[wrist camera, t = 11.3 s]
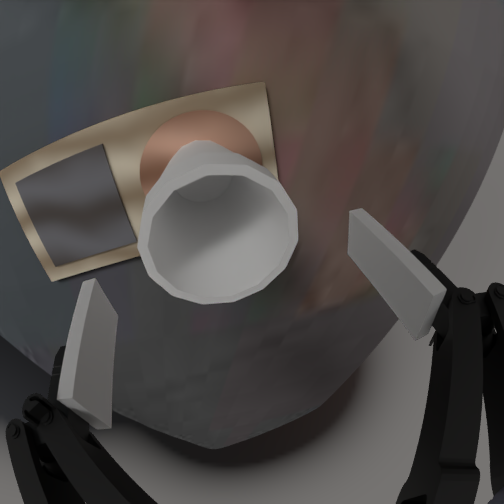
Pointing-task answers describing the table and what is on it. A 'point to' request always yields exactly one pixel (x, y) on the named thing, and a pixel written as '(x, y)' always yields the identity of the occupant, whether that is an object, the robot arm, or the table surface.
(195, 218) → the foam cup
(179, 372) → the table surface
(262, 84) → the sorting board
